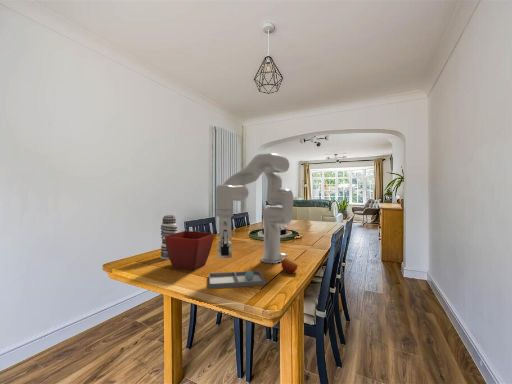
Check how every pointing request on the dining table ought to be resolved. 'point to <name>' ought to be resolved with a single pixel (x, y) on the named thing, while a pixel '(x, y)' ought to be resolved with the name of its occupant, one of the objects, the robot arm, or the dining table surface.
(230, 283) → the compartment box
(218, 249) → the letter cube
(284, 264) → the fruit
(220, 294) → the dining table surface
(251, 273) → the teal ball
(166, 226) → the decorative candle
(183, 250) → the plant pot
